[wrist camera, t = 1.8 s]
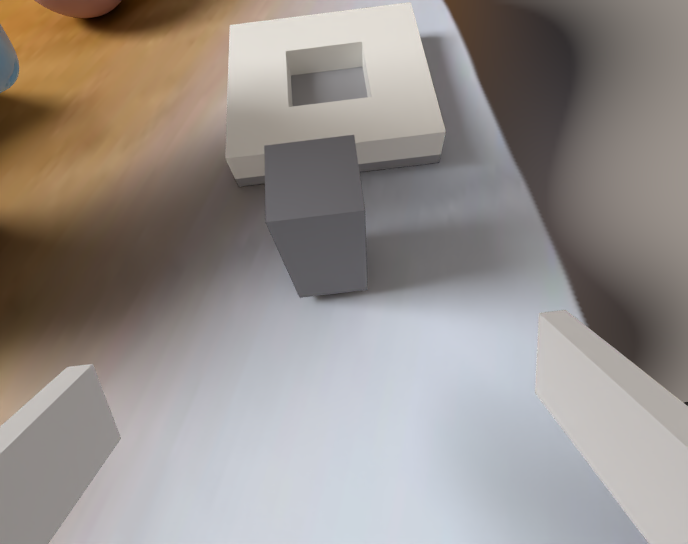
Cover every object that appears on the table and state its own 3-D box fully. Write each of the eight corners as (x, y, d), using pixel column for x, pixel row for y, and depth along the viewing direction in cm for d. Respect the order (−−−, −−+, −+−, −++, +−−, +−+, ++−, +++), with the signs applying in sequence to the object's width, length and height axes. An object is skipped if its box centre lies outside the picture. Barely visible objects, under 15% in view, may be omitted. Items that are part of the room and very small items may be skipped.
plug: (301, 302, 29) (265, 222, 19) (298, 245, 31) (264, 145, 21) (367, 295, 29) (364, 210, 19) (359, 237, 31) (354, 134, 21)
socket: (238, 186, 34) (225, 158, 31) (241, 58, 41) (229, 25, 38) (439, 162, 34) (445, 131, 31) (407, 37, 41) (410, 2, 37)
